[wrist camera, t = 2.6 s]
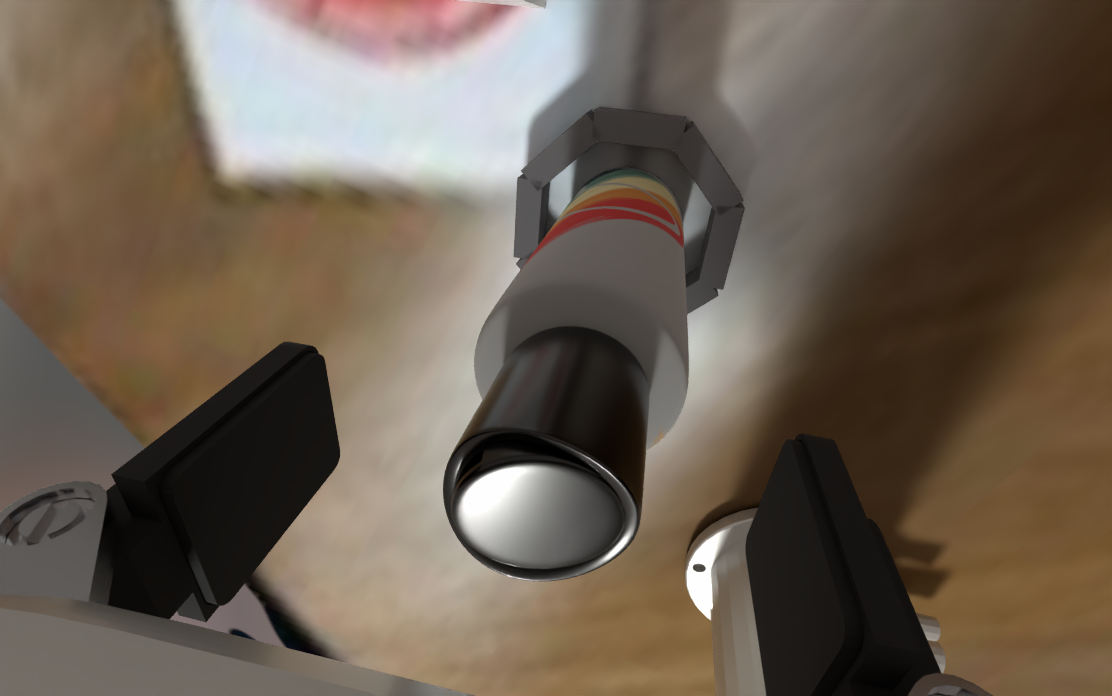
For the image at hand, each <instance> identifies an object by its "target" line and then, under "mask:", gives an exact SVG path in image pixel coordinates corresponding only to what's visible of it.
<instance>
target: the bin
mask: <svg viewBox="0 0 1112 696" xmlns="http://www.w3.org/2000/svg"><path fill="white" fill-rule="evenodd" d="M458 1H469V2H480V3H491V4H502V5H513V6H523V7H534V8H545V6H546V0H458Z"/></svg>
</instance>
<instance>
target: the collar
mask: <svg viewBox="0 0 1112 696" xmlns="http://www.w3.org/2000/svg"><path fill="white" fill-rule="evenodd" d="M685 124H686V117H682V116H674V115H665V114H656V113H648V112H639V111H630V110H622V109H613V108H604V107H599V108H598V109H596V110H595V111H594V112H593V110H590V111H589V112H587V113H586V114H585V115H584V116H582V117H581V118H580V119H579V120H578V121H577V122H576V123H574V124H573V125H572V126H571V127H570V128H569V129H568V130H567V131H565V132H564V133H563V134H562V135H561V136H560V137H559V138H557V139H556V140H555V141H554V142H553V143H552V144H551V145H550V146H548V147H547V148H546V149H545V150H544V151H543V152H542V153H540V154H539V155H538V156H537V157H536V158H535V159H534V160H533V161H531V162H530V163H529V164H528V165H527V166H526V167H525V168H523V169H522V170H521V171H522V173H523V174H522V175H521V176H520V177H518V179H517V200H516V220H515V240H514V257H517V258H520V259H519V261H518V262H517V263H516V264H517V266H518V267H519V268H520V269H522V268H523V266H524V265H525V263H526V262H527V261H528V259H529V258H530V257H531V255H532V254H533V252H534V251H535V250H536V248H537V247H538V246H539V244H540V243H541V241H542V240H543V239H544V237H545V236H546V223H547V211H548V198H549V186H550V181H551V180H552V179H553V178H554V177H555V176H557V175H558V174H559V173H560V172H561V171H563V170H564V169H565V168H566V167H567V166H568V165H570V164H571V163H572V162H573V161H574V160H576V159H577V158H578V157H579V156H580V155H582V154H583V153H584V152H585V151H586V150H587V149H589V148H590V147H591V146H592V145H593V144H595V143H596V142H597V141H603V142H611V143H619V144H627V145H635V146H644V147H652V148H660V149H668V150H674V152H675V153H676V155H677V156H678V158H679V159H680V160H681V162H682V163H683V165H684V166H685V168H686V169H687V171H688V172H689V174H690V175H691V176H692V178H693V179H694V181H695V182H696V184H697V185H698V187H699V188H700V190H701V191H702V192H703V194H704V195H705V197H706V198H707V200H708V201H709V203H710V204H711V206H712V209H711V213H710V217H709V222H708V226H707V230H706V234H705V239H704V243H703V247H702V251H701V256H700V260H699V264H698V267H697V268H696V269H694V270H692V271H691V272H689V273H688V274H686V275H685V280H686V303H687V314H688V313H690V312H692V311H694V310H695V309H697V308H699V307H700V306H702V305H704V304H705V303H707V302H709V301H710V300H712V299H714V298H715V297H717V296H718V291H717V289H723V288H724V284H725V280H726V277H727V273H728V269H729V265H730V262H731V258H732V254H733V250H734V247H735V243H736V239H737V235H738V232H739V228H740V224H741V220H742V217H743V213H744V209H745V208H744V206H743V204H742V201H743V198H742V196H741V194H740V192H739V190H738V189H737V187H736V186H735V184H734V183H733V181H732V180H731V178H730V177H729V175H728V174H727V172H726V171H725V169H724V168H723V166H722V165H721V163H720V162H719V160H718V159H717V157H716V156H715V154H714V153H713V151H712V150H711V148H710V147H709V145H708V144H707V142H706V141H705V139H704V138H703V136H702V135H701V133H700V132H699V130H698V129H697V127H696V126H695V124H694V123H693V121H692V122H691V123H690V124H688V125H687V126H686V127H685Z"/></svg>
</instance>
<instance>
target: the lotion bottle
mask: <svg viewBox="0 0 1112 696" xmlns="http://www.w3.org/2000/svg"><path fill="white" fill-rule="evenodd" d="M474 370H475V378H476V383H477V386H478V390H479V393H480V395H481V397H482V400H483V401H482V402H481V404H480V406H479V407H478V409H477V411H476V413H475V414H474V416H473V418H472V420H471V421H470V423H469V425H468V426H467V428H466V430H465V432H464V433H463V435H462V437H461V438H460V440H459V442H458V444H457V445H456V447H455V449H454V451H453V453H452V455H451V457H450V459H449V461H448V464H447V467H446V470H445V475H444V482H443V498H444V505H445V509H446V514H447V517H448V519H449V522H450V524H451V527H452V529H453V531H454V533H455V534H456V536H457V538H458V539H459V541H460V542H461V544H462V545H463V546H464V547H465V548H466V550H467V551H468V552H469V553H470V554H471V555H472V556H473V557H474V558H476V559H477V560H478V561H479V562H481V563H482V564H484V565H485V566H487V567H488V568H490V569H492V570H494V571H496V572H498V573H500V574H503V575H505V576H509V577H512V578H516V579H521V580H527V581H556V580H563V579H568V578H572V577H576V576H580V575H583V574H586V573H588V572H591V571H593V570H596V569H598V568H600V567H602V566H604V565H605V564H607V563H609V562H610V561H612V560H613V559H615V558H616V557H617V556H619V555H620V554H621V553H622V552H623V551H624V550H625V549H626V548H627V547H628V546H629V545H630V544H631V542H632V541H633V539H634V537H635V535H636V533H637V531H638V528H639V525H640V519H641V510H642V498H643V484H644V471H645V457H646V450H648V449H650V448H651V447H653V446H654V445H655V444H657V443H658V442H659V441H660V440H661V439H662V438H663V437H664V436H665V435H666V434H667V433H668V432H669V431H670V430H671V428H672V427H673V425H674V424H675V422H676V421H677V419H678V417H679V415H680V413H681V410H682V408H683V405H684V402H685V398H686V394H687V389H688V375H689V355H688V327H687V303H686V280H685V257H684V234H683V221H682V215H681V210H680V207H679V204H678V202H677V199H676V198H675V196H674V194H673V192H672V191H671V190H670V188H669V187H668V186H667V185H666V184H665V183H664V182H663V181H662V180H660V179H659V178H658V177H656V176H654V175H653V174H651V173H649V172H646V171H643V170H640V169H635V168H617V169H612V170H608V171H605V172H603V173H601V174H599V175H597V176H595V177H594V178H592V179H591V180H590V181H588V182H587V183H586V184H585V185H584V186H583V187H582V188H581V189H580V190H579V191H578V193H577V194H576V195H575V196H574V198H573V199H572V200H571V202H570V203H569V204H568V206H567V207H566V209H565V210H564V211H563V213H562V214H561V215H560V217H559V218H558V219H557V221H556V222H555V224H554V225H553V226H552V228H551V229H550V230H549V232H548V233H547V235H546V236H545V237H544V239H543V240H542V241H541V243H540V244H539V246H538V247H537V248H536V250H535V251H534V252H533V254H532V255H531V257H530V258H529V259H528V261H527V262H526V263H525V265H524V266H523V268H522V269H521V270H520V272H519V273H518V274H517V276H516V277H515V279H514V280H513V281H512V283H511V284H510V286H509V287H508V288H507V290H506V291H505V293H504V294H503V295H502V297H501V298H500V300H499V301H498V303H497V304H496V306H495V307H494V309H493V310H492V312H491V313H490V315H489V316H488V318H487V319H486V321H485V323H484V325H483V327H482V329H481V332H480V335H479V338H478V341H477V345H476V349H475V356H474Z"/></svg>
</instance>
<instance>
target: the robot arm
mask: <svg viewBox="0 0 1112 696" xmlns="http://www.w3.org/2000/svg"><path fill="white" fill-rule="evenodd" d="M339 458H340V447H339V441H338V435H337V429H336V424H335V418H334V412H333V406H332V400H331V394H330V388H329V382H328V376H327V370H326V364H325V360H324V357H323V356H322V355H320V354H318V351H317V349H316V348H315V347H313V346H310V345H304V344H299V343H293V342H283V343H281V344H280V345H278V346H277V347H276V348H275V349H273V350H272V351H271V352H269V353H268V354H267V355H266V356H264V357H263V358H262V359H260V360H259V361H258V362H256V363H255V364H254V365H253V366H251V367H250V368H249V369H247V370H246V371H245V372H243V373H242V374H241V375H240V376H238V377H237V378H236V379H234V380H233V381H232V382H231V383H229V384H228V385H227V386H225V387H224V388H223V389H221V390H220V391H219V392H218V393H216V394H215V395H214V396H212V397H211V398H210V399H208V400H207V401H206V402H205V403H203V404H202V405H201V406H199V407H198V408H197V409H196V410H194V411H193V412H192V413H190V414H189V415H188V416H186V417H185V418H184V419H183V420H181V421H180V422H179V423H177V424H176V425H175V426H173V427H172V428H171V429H170V430H168V431H167V432H166V433H164V434H163V435H162V436H161V437H159V438H158V439H157V440H155V441H154V442H153V443H151V444H150V445H149V446H148V447H146V448H145V449H144V450H142V451H141V452H140V453H138V454H137V455H136V456H135V457H133V458H132V459H131V460H129V461H128V462H127V463H126V464H124V465H123V466H122V467H120V468H119V469H118V470H116V471H115V472H114V473H113V474H111V475H112V477H113V479H114V481H115V483H116V484H115V485H113V486H112V487H111V488H110V489H108V490H107V491H105V489H103V487H101V485H99V484H95V483H92V482H88V481H72V482H66V483H60V484H56V485H53V486H49V487H46V488H43V489H40V490H37V491H35V492H33V493H31V494H29V495H26V496H25V497H22V498H20V499H19V500H17V501H16V502H14V503H12V504H11V505H9V506H8V507H6V508H5V509H4V510H3V511H2V512H0V696H474V695H470V694H466V693H462V692H458V691H454V690H450V689H446V688H442V687H438V686H434V685H430V684H427V683H423V682H419V681H415V680H411V679H407V678H403V677H399V676H395V675H391V674H387V673H383V672H379V671H375V670H371V669H367V668H363V667H359V666H356V665H352V664H348V663H344V662H340V661H336V660H332V659H328V658H324V657H320V656H316V655H312V654H308V653H304V652H300V651H296V650H292V649H288V648H284V647H280V646H275V645H271V644H267V643H263V642H259V641H255V640H251V639H247V638H243V637H239V636H235V635H231V634H227V633H223V632H219V631H215V630H211V629H207V628H203V627H199V626H195V625H190V624H187V623H182V622H178V621H174V620H169V619H170V618H171V617H172V616H173V615H174V614H175V612H176V611H177V612H178V614H179V615H180V616H184V617H188V618H192V619H196V620H200V621H204V622H207V621H208V619H209V618H210V617H211V616H212V614H213V613H214V612H215V611H216V609H217V608H218V607H219V606H220V605H225V604H227V603H228V602H230V601H231V599H232V598H233V597H234V596H235V595H236V593H237V592H238V591H239V590H240V589H241V587H242V586H243V585H244V583H245V582H246V581H247V580H248V578H249V577H250V576H251V575H252V573H253V572H254V571H255V569H256V568H257V567H258V566H259V564H260V563H261V562H262V561H263V559H264V558H265V557H266V556H267V554H268V553H269V552H270V550H271V549H272V548H273V547H274V545H275V544H276V543H277V542H278V540H279V539H280V538H281V537H282V535H283V534H284V533H285V531H286V530H287V529H288V528H289V526H290V525H291V524H292V523H293V521H294V520H295V519H296V517H297V516H298V515H299V514H300V512H301V511H302V510H303V509H304V507H305V506H306V505H307V504H308V502H309V501H310V500H311V498H312V497H313V496H314V495H315V493H316V492H317V491H318V490H319V488H320V487H321V486H322V485H323V483H324V482H325V481H326V479H327V478H328V477H329V476H330V474H331V473H332V472H333V471H334V469H335V468H336V466H337V464H338V462H339ZM685 578H686V587H687V590H688V593H689V596H690V597H691V599H692V601H693V602H694V604H695V605H696V607H697V608H698V609H699V610H700V611H701V612H702V613H703V614H704V615H705V616H706V617H707V618H708V619H710V620H711V628H712V644H713V660H714V676H715V692H716V696H993V695H991V694H990V693H988V692H987V691H985V690H983V689H982V688H980V687H979V686H977V685H976V684H974V683H972V682H969V681H967V680H964V679H962V678H960V677H957V676H955V675H948V674H942V673H943V672H944V669H945V666H946V661H945V654H944V650H943V648H942V646H941V645H940V643H938V642H937V640H938V639H939V637H940V625H939V622H938V621H937V619H936V618H935V617H932V616H928V615H923V614H919V613H916V612H915V610H914V608H913V605H912V603H911V601H910V598H909V596H908V594H907V591H906V589H905V587H904V584H903V582H902V580H901V577H900V575H899V573H898V570H897V568H896V566H895V563H894V561H893V559H892V556H891V554H890V552H889V549H888V547H887V545H886V542H885V540H884V538H883V536H882V533H881V531H880V529H879V528H878V526H877V524H876V523H875V522H874V521H872V520H871V519H867V518H866V515H865V513H864V511H863V508H862V506H861V503H860V501H859V498H858V496H857V494H856V491H855V489H854V486H853V484H852V481H851V479H850V477H849V474H848V472H847V469H846V467H845V464H844V462H843V460H842V457H841V455H840V452H839V450H838V447H837V445H836V443H835V442H834V440H832V439H828V438H823V437H817V436H811V435H806V434H799V435H798V436H797V437H796V438H795V440H790V439H788V440H786V441H785V443H784V445H783V447H782V449H781V452H780V454H779V457H778V459H777V462H776V464H775V467H774V469H773V472H772V474H771V477H770V479H769V482H768V484H767V487H766V489H765V492H764V494H763V497H762V499H761V502H760V504H759V507H758V508H753V509H748V510H743V511H740V512H737V513H734V514H731V515H729V516H726V517H724V518H722V519H720V520H718V521H717V522H715V523H713V524H711V525H710V526H708V527H707V528H706V529H705V530H704V531H703V532H701V533H700V534H699V535H698V536H697V538H696V539H695V541H694V542H693V543H692V545H691V546H690V549H689V551H688V554H687V556H686V563H685Z"/></svg>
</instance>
